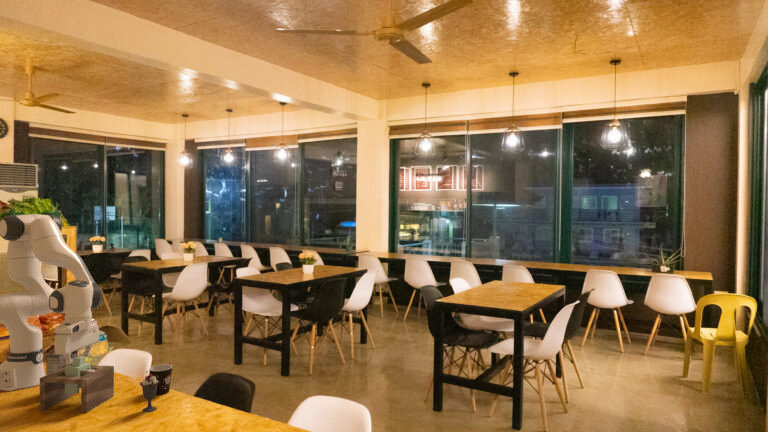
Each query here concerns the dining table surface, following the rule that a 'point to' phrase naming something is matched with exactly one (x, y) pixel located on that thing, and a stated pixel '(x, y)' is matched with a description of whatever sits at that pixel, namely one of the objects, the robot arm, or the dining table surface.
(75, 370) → the green u-channel bracket
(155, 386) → the sundae
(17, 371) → the robot arm
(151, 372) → the coffee mug
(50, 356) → the coffee box
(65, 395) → the wooden frame with rod
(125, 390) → the dining table surface
